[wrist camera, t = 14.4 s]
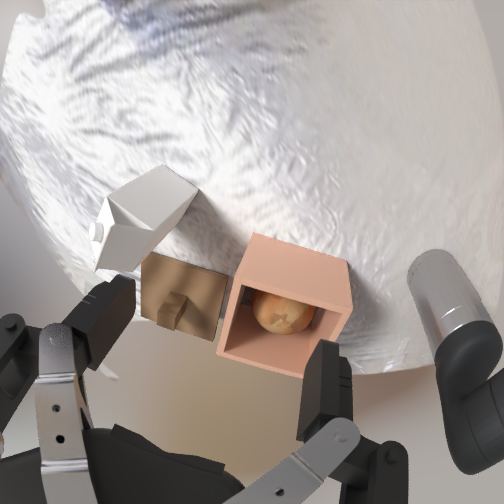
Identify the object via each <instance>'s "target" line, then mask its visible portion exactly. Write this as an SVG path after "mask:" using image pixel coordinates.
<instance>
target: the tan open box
mask: <svg viewBox="0 0 504 504" xmlns="http://www.w3.org/2000/svg"><path fill="white" fill-rule="evenodd" d="M246 286H248V287H252V288H255V289H258V290H262V291H265V292H269V293H272V294H275V295H279V296H282V297H285V298H289V299H292V300H296V301H299V302H303V303H306V304H310V305H313V306H317V307H319V308H318V311H317V313H316V315H315V317H314V319H313V321H312V323H311V324H310V323H309V324H308V326H307V327H306V328H304V329H303V330H301V331H300V332H297V333H294V334H290V335H281V334H276V333H273V332H270V331H268V330H267V329H265V328H264V327H263V326H261V324H260V323H259V322H258V321H257V319H256V317H255V315H254V313H253V308H252V307H251V306H248V305H245V304H241V301H242V298H243V294H244V290H245V287H246ZM352 311H353V304H352V296H351V288H350V281H349V273H348V266H347V261H346V260H343V259H339V258H336V257H333V256H330V255H326V254H323V253H320V252H317V251H313V250H310V249H307V248H303V247H300V246H297V245H293V244H290V243H287V242H283V241H280V240H277V239H273V238H270V237H267V236H263V235H260V234H257V233H253V235H252V237H251V239H250V242H249V244H248V246H247V249H246V251H245V253H244V256H243V258H242V260H241V262H240V265H239V267H238V269H237V272H236V274H235V277H234V281H233V285H232V290H231V294H230V298H229V302H228V306H227V310H226V315H225V319H224V323H223V327H222V331H221V336H220V340H219V344H218V348H217V352H216V354H217V355H220V356H223V357H226V358H229V359H233V360H236V361H240V362H243V363H246V364H250V365H253V366H256V367H260V368H263V369H267V370H271V371H274V372H278V373H282V374H286V375H290V376H294V377H298V378H302V379H303V376H304V370H305V367H306V364H307V362H308V360H309V358H310V356H311V355H312V353H313V351H314V349H315V347H316V345H317V344H318V342H319V340H320V339H325V340H329V341H333V342H335V341H336V339H337V338H338V336H339V334H340V332H341V331H342V329H343V327H344V325H345V324H346V322H347V320H348V318H349V316H350V315H351V313H352Z"/></svg>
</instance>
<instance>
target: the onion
mask: <svg viewBox="0 0 504 504" xmlns="http://www.w3.org/2000/svg"><path fill="white" fill-rule="evenodd" d="M252 308H253V313H254V315H255V317H256V319H257V321H258V322H259V323H260V324H261V326H263V327H264V328H265V329H267V330H268V331H270V332H273V333H276V334H281V335H290V334H294V333H297V332H300V331H301V330H303V329H304V328H306V327H307V326H308V324H309V323H310V322H311V320H312V318H313V316H314V313H315V309H316V306H313V305H310V304H306V303H303V302H299V301H296V300H292V299H289V298H285V297H282V296H279V295H275V294H272V293H269V292H265V291H262V290H258V289H255V291H254V294H253V298H252Z"/></svg>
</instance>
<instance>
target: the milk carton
mask: <svg viewBox="0 0 504 504" xmlns="http://www.w3.org/2000/svg"><path fill="white" fill-rule="evenodd" d="M198 191H199V189H198V188H196V187H195V186H193V185H192V184H190V183H189V182H188V181H186V180H185V179H183V178H182V177H180V176H179V175H178V174H176V173H175V172H173V171H172V170H170V169H169V168H167V167H166V166H164V165H163V164H161V165H159V166H157V167H155V168H154V169H152V170H150V171H148V172H146V173H145V174H143V175H141V176H139V177H137V178H136V179H134V180H132V181H130V182H129V183H127V184H125V185H124V186H122V187H120V188H118V189H117V190H115V191H113V192H112V193H110V194H109V195H107V196H106V198H105V200H104V203H103V205H102V208H101V211H100V213H99V216H98V219H97V222H92V223H91V225H90V229H89V236H90V241H91V245H92V249H93V253H94V257H95V260H96V263H95V266H94V269H93V273H94V272H95V271H96V270H97V269H98V268H100V269H109V270H118V271H127V272H133V271H134V270H135V269H136V268H137V267H138V266H139V265H140V263H141V262H142V261H143V260H144V259H145V258H146V257H147V256H148V255H149V254H150V253H151V251H152V250H153V249H154V248H155V247H156V246H157V245H158V244H159V243H160V242H161V241H162V240H163V239H164V238H165V236H166V235H167V234H168V233H169V232H170V231H171V230H172V229H173V228H174V227H175V226H176V225H177V224H178V223H179V221H180V220H181V218H182V217H183V215H184V213H185V212H186V210H187V208H188V207H189V205H190V204H191V202H192V200H193V199H194V197H195V196H196V194H197V192H198Z"/></svg>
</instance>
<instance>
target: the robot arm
mask: <svg viewBox="0 0 504 504" xmlns="http://www.w3.org/2000/svg"><path fill="white" fill-rule="evenodd" d="M407 279H408V285H409V288H410V291H411V293H412V296H413V299H414V302H415V304H416V307H417V310H418V313H419V316H420V318H421V321H422V324H423V327H424V330H425V333H426V336H427V339H428V342H429V346H430V349H431V352H432V355H433V359H434V362H435V366H436V380H437V385H438V389H439V394H440V400H441V406H442V413H443V421H444V427H445V434H446V439H447V443H448V448H449V451H450V454H451V456H452V459H453V461H454V463H455V465H456V466H457V467H458V469H459V470H460V471H461V472H463V473H464V474H467V475H474V474H477V473H479V472H481V471H483V470H485V469H487V468H489V467H491V466H493V465H495V464H496V463H498V462H500V461H501V460H503V459H504V368H503V369H501V370H500V371H499V372H498V373H497V374H495V375H494V376H492V377H491V378H490V379H488V380H487V378H488V377H489V375H490V374H491V373H492V371H493V370H494V368H495V367H496V365H497V364H498V362H499V360H500V358H501V355H502V351H503V343H502V339H501V336H500V334H499V333H498V330H497V328H496V327H495V325H494V323H493V321H492V319H491V317H490V316H489V314H488V312H487V310H486V309H485V307H484V305H483V304H482V302H481V298H480V296H479V295H478V293H477V291H476V290H475V288H474V286H473V285H472V283H471V282H470V280H469V278H468V277H467V275H466V274H465V272H464V271H463V269H462V268H461V266H459V265H458V263H457V262H456V260H455V259H454V258H453V256H452V255H451V254H450V253H448V252H446V251H444V250H431V251H428V252H426V253H424V254H422V255H421V256H419V257H418V258H417V259H416V260H415V261H414V262H413V264H412V265H411V267H410V269H409V272H408V277H407ZM135 309H136V282H135V280H134V279H132V278H129V277H126V276H123V275H121V274H118V275H116V276H115V277H114V278H113V280H112V281H111V282H110V283H109V282H106V281H104V282H102V283H100V284H98V285H96V286H95V287H94V288H93V289H92V290H91V291H90V292H89V293H88V295H86V296H85V297H84V298H83V300H82V301H81V302H80V303H79V304H78V305H77V306H76V307H75V308H74V309H73V310H72V311H71V313H70V314H69V315H68V316H67V317H66V318H65V319H64V320H63V321H62V322H61V323H52V324H49V325H47V326H45V327H44V328H43V329H41V328H36V327H31V326H27V325H26V324H25V321H24V319H23V318H22V316H20V315H18V314H7V315H5V316H3V317H2V318H1V319H0V504H301V503H302V502H303V501H305V500H306V499H307V498H308V497H309V496H310V495H311V494H312V493H313V492H314V491H315V490H316V489H318V488H319V487H320V486H321V484H322V483H323V482H324V479H326V477H327V476H328V477H330V478H332V479H335V480H337V481H339V482H341V483H342V485H341V492H340V499H339V504H408V454H407V451H406V449H405V448H404V446H403V445H401V444H400V443H398V442H396V441H386V442H384V443H382V444H381V445H380V444H378V443H376V442H374V441H371V440H369V439H367V438H365V437H363V436H362V435H361V434H360V431H359V429H358V427H357V426H356V424H355V423H354V422H353V396H352V381H351V380H352V370H351V366H350V364H349V362H348V360H347V358H345V357H341V356H339V344H338V343H337V342H333V341H329V340H325V339H320V340H319V342H318V344H317V345H316V347H315V349H314V351H313V353H312V355H311V356H310V358H309V360H308V362H307V364H306V367H305V370H304V376H303V386H302V396H301V404H300V413H299V422H298V429H297V437H296V440H298V441H303V442H304V445H302V446H301V447H300V448H299V449H298V450H297V451H295V452H294V453H292V454H291V455H289V456H288V457H287V458H285V459H284V460H283V461H281V462H280V463H279V464H278V465H276V466H275V467H274V468H273V469H271V470H270V471H268V472H267V473H266V474H264V475H263V476H262V477H260V478H259V479H258V480H256V481H255V482H254V483H252V484H251V485H249V486H248V487H246V488H245V487H244V486H243V484H242V483H241V482H240V481H239V480H237V479H236V478H235V477H234V476H232V475H231V474H230V473H228V472H226V471H224V467H225V464H223V463H219V462H215V461H212V460H209V459H206V458H202V457H199V456H194V455H184V454H175V453H168V452H165V451H163V450H161V449H160V448H159V447H157V446H156V445H154V444H153V443H151V442H150V441H148V440H147V439H145V438H144V437H143V436H141V435H140V434H137V433H135V432H132V431H130V430H128V429H126V428H124V427H121V426H119V425H117V424H115V425H114V427H113V429H106V428H94V426H93V422H92V419H91V415H90V411H89V406H88V400H87V394H86V388H85V381H84V374H83V373H84V371H85V370H86V368H87V367H88V368H90V369H92V370H94V371H96V370H97V368H98V367H99V365H100V364H101V362H102V361H103V359H104V358H105V356H106V355H107V354H108V352H109V351H110V349H111V348H112V346H113V345H114V343H115V342H116V340H117V339H118V338H119V336H120V335H121V333H122V332H123V330H124V329H125V328H126V326H127V325H128V324H129V322H130V321H131V319H132V318H133V316H134V313H135ZM37 376H38V377H39V378H37ZM486 380H487V381H486ZM34 381H35V402H36V417H37V428H38V437H39V444H40V447H37V448H34V449H32V450H29V451H25V452H22V453H19V454H16V455H13V456H9V457H6V458H3V459H2V458H1V454H3V452H4V438H3V435H2V433H3V431H4V429H5V427H6V426H7V424H8V422H9V421H10V419H11V417H12V415H13V414H14V412H15V411H16V409H17V407H18V405H19V404H20V402H21V401H22V399H23V398H24V396H25V395H26V393H27V391H28V390H29V388H30V387H31V385H32V384H33V382H34Z"/></svg>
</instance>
